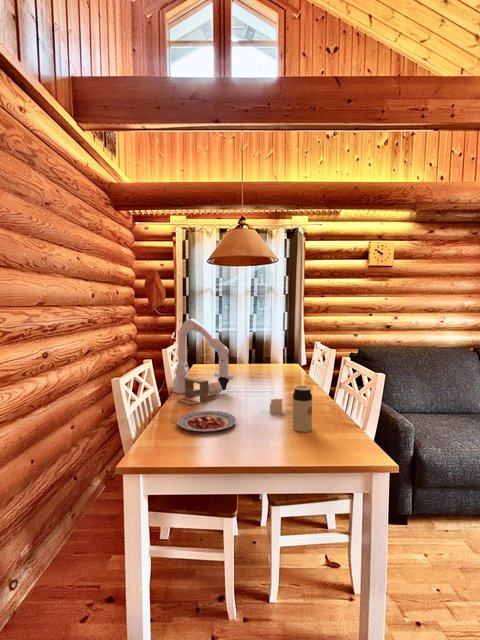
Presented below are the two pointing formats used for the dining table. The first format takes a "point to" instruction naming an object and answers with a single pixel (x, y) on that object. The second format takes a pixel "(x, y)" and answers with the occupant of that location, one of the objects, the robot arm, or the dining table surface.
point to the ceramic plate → (206, 421)
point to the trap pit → (188, 401)
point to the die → (215, 388)
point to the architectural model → (276, 406)
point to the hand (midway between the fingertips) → (223, 389)
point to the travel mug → (302, 408)
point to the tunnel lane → (203, 389)
